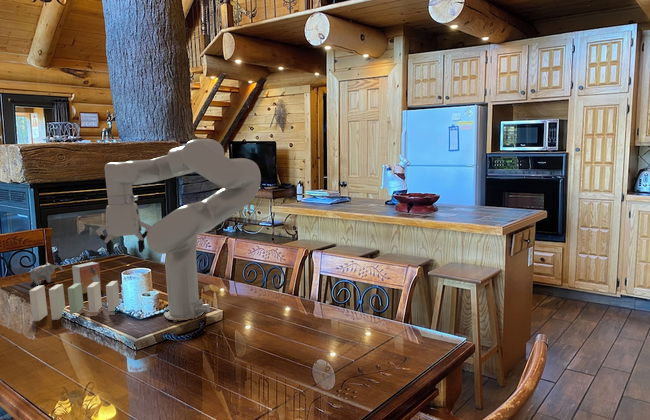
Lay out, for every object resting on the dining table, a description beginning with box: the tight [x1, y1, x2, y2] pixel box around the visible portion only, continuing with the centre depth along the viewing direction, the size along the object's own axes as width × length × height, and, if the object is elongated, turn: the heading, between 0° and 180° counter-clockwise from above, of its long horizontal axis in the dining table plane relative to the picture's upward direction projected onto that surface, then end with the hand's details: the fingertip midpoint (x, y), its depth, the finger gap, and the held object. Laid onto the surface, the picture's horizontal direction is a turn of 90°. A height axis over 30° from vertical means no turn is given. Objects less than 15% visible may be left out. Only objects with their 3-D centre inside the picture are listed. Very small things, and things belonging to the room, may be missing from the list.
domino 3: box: [67, 283, 85, 314], centre depth 160 cm, size 2×6×10 cm, turn 6°
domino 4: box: [86, 282, 103, 312], centre depth 161 cm, size 2×6×10 cm, turn 7°
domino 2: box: [48, 283, 66, 321], centre depth 160 cm, size 2×6×10 cm, turn 7°
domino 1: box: [29, 284, 48, 322], centre depth 159 cm, size 2×6×10 cm, turn 7°
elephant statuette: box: [29, 262, 64, 286], centre depth 204 cm, size 9×12×8 cm
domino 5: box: [105, 280, 121, 312], centre depth 162 cm, size 2×6×10 cm, turn 7°
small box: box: [71, 261, 102, 295], centre depth 188 cm, size 8×6×10 cm
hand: (126, 252), depth 160 cm, fingers open, 9 cm apart
